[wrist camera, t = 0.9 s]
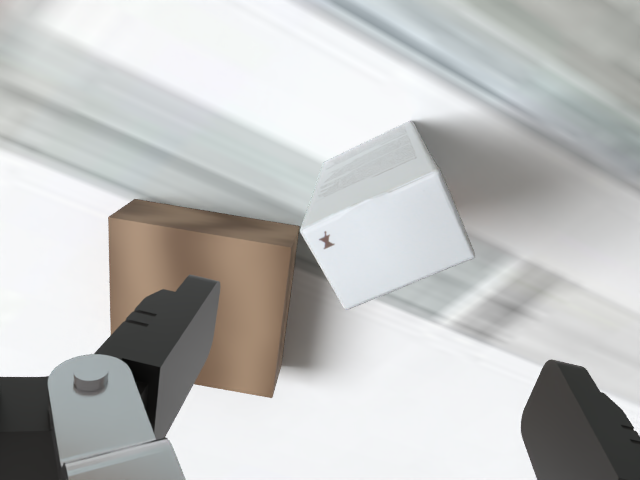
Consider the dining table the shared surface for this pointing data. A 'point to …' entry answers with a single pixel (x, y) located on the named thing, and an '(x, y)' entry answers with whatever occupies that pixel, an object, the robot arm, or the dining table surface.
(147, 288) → the walnut block
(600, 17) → the dining table surface
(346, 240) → the skincare box
